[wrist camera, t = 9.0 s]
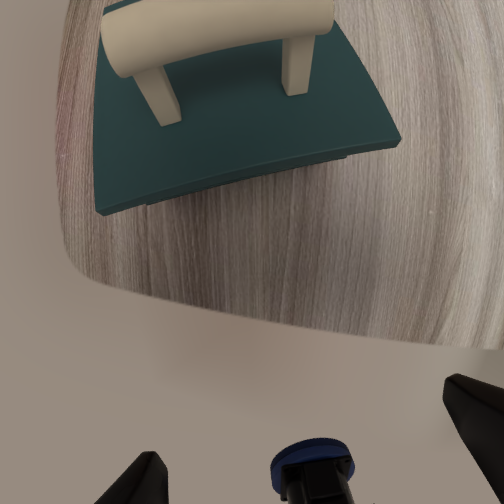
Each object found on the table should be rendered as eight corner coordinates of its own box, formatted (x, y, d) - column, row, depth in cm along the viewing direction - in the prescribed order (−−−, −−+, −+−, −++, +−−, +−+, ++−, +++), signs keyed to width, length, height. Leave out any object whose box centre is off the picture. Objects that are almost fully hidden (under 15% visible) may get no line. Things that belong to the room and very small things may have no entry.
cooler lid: (396, 147, 9) (465, 43, 4) (103, 217, 9) (-3, 147, 4) (292, -28, 12) (293, -103, 7) (107, 15, 12) (73, -54, 7)
